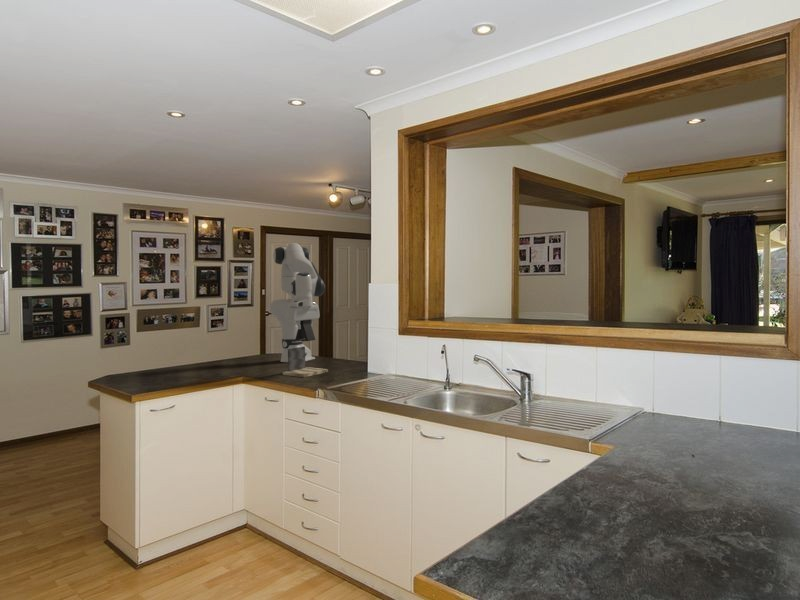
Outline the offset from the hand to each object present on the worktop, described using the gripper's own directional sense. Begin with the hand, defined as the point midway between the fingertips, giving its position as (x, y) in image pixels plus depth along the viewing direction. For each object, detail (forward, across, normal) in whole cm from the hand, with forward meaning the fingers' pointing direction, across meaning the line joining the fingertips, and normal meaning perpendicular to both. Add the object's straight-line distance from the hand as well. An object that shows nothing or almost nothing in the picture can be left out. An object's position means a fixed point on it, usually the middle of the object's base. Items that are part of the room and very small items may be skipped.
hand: (304, 328), depth 288 cm
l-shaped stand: (+24, 0, 0) cm, 24 cm away
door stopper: (+7, 0, 0) cm, 7 cm away
